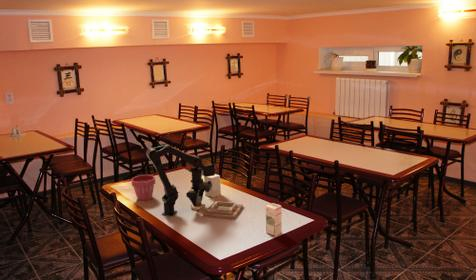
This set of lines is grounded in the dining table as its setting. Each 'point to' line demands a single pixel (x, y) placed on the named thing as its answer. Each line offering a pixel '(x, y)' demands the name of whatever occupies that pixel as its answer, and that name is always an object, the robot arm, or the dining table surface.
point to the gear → (198, 205)
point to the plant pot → (143, 186)
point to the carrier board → (223, 210)
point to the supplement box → (213, 185)
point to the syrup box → (273, 219)
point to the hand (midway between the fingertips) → (197, 203)
